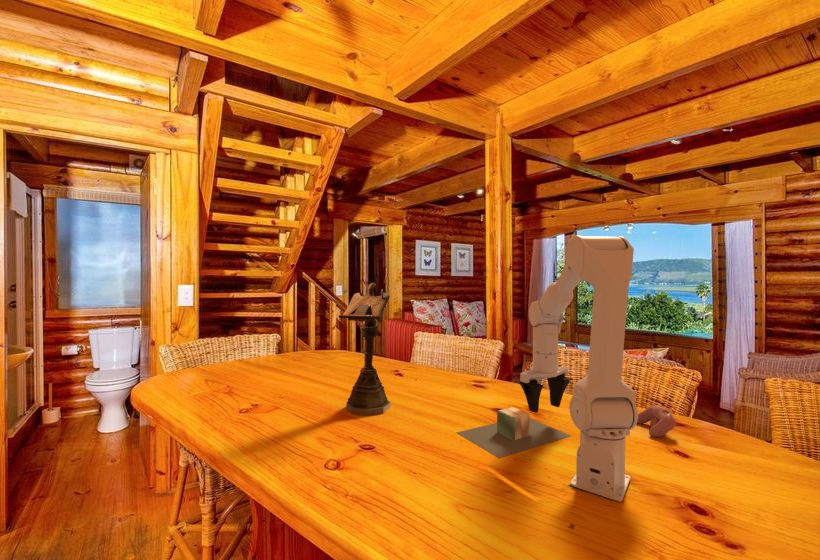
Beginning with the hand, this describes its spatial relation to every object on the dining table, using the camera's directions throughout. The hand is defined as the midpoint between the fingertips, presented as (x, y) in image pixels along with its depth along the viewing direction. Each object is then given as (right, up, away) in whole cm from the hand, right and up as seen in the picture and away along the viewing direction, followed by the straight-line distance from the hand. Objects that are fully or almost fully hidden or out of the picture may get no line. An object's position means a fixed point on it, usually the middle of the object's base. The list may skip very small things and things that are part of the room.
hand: (544, 408), depth 92 cm
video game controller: (+26, -5, 0) cm, 27 cm away
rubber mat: (-9, -5, -5) cm, 11 cm away
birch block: (-7, -2, -4) cm, 8 cm away
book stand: (-44, -4, +11) cm, 45 cm away
